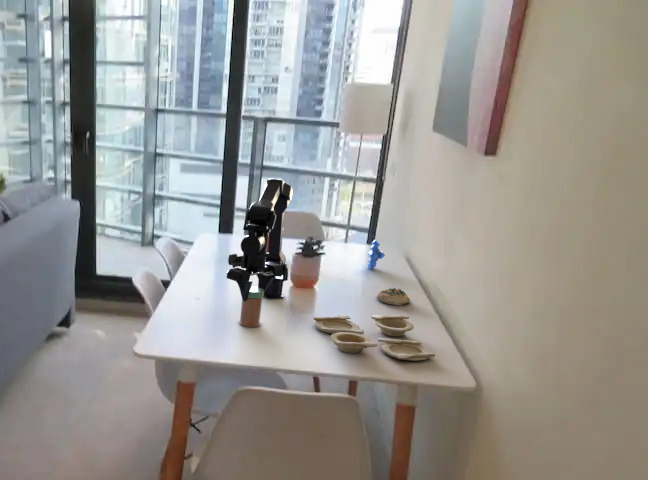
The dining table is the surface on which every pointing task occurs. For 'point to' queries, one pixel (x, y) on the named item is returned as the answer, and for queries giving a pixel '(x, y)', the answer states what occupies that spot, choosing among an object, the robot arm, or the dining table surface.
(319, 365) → the dining table surface
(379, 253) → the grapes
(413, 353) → the tableware set
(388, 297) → the bread roll
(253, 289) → the lid
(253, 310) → the jar
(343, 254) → the dining table surface
